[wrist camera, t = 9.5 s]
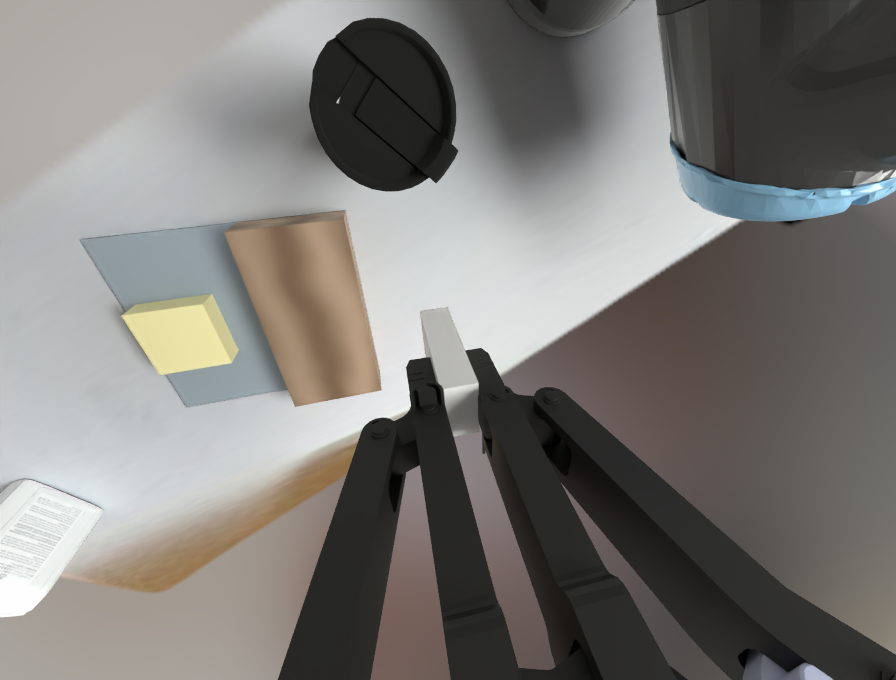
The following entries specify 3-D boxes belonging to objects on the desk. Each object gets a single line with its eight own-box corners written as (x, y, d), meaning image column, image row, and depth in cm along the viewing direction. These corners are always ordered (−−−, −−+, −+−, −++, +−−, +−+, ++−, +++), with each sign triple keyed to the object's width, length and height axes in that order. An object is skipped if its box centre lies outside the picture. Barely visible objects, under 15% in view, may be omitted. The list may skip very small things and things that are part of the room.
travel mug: (385, 179, 33) (410, 226, 17) (321, 129, 30) (274, 126, 13) (422, 119, 31) (494, 105, 15) (359, 60, 28) (359, -43, 12)
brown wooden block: (345, 210, 34) (343, 219, 31) (379, 370, 45) (381, 390, 41) (237, 222, 32) (223, 232, 29) (300, 385, 43) (295, 406, 40)
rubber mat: (237, 222, 32) (236, 222, 32) (300, 385, 43) (299, 386, 43) (82, 239, 30) (80, 240, 30) (187, 405, 41) (186, 407, 41)
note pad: (121, 315, 32) (135, 304, 34) (159, 375, 35) (170, 361, 38) (202, 304, 33) (211, 293, 35) (231, 363, 37) (238, 350, 39)
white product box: (-2, 489, 41) (-121, 608, 31) (24, 472, 41) (-89, 587, 31) (89, 522, 47) (13, 632, 37) (112, 508, 47) (41, 615, 36)
